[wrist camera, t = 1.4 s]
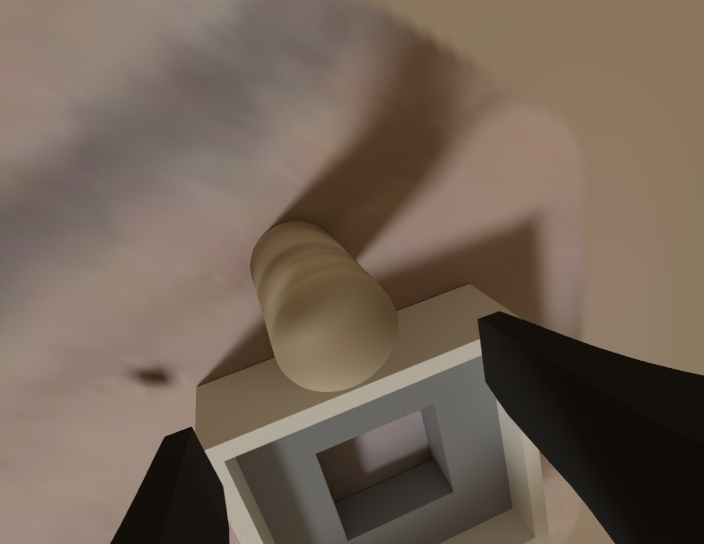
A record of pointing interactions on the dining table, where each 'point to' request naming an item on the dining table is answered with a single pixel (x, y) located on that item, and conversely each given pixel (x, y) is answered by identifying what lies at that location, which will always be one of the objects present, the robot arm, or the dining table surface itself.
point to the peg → (321, 308)
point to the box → (370, 413)
